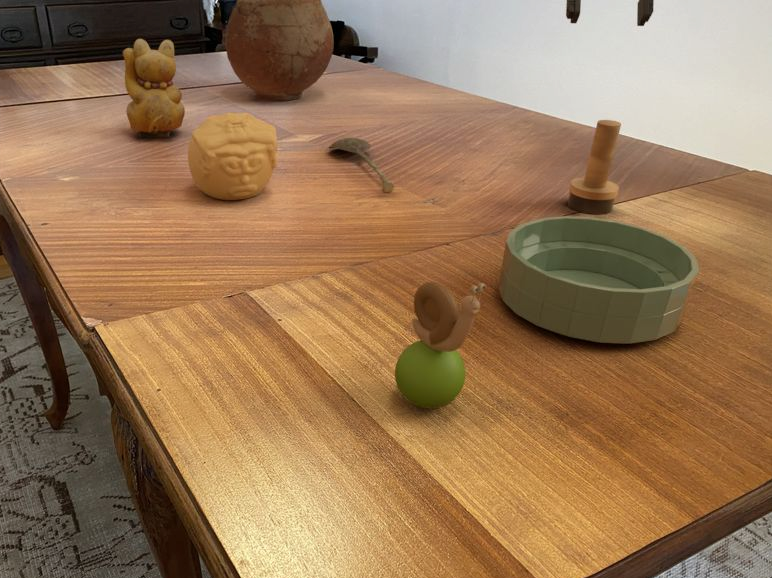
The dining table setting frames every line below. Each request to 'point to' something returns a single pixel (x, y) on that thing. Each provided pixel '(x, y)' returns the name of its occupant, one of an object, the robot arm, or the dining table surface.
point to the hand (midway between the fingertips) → (609, 20)
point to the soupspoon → (358, 148)
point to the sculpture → (232, 155)
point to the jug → (279, 45)
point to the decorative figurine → (152, 90)
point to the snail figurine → (436, 346)
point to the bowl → (597, 279)
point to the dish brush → (597, 173)
